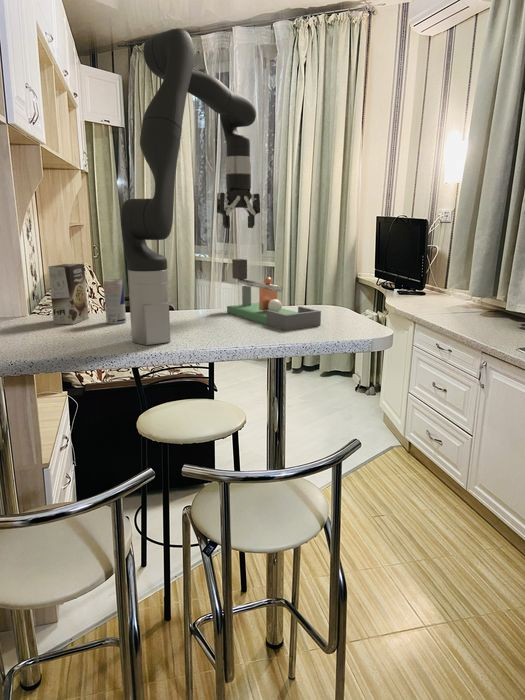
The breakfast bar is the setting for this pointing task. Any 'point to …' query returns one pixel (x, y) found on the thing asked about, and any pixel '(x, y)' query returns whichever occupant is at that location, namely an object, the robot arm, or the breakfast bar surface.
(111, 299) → the energy drink
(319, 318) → the pitch
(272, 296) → the kicker rod
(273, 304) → the ball
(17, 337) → the breakfast bar surface
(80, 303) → the coffee box
